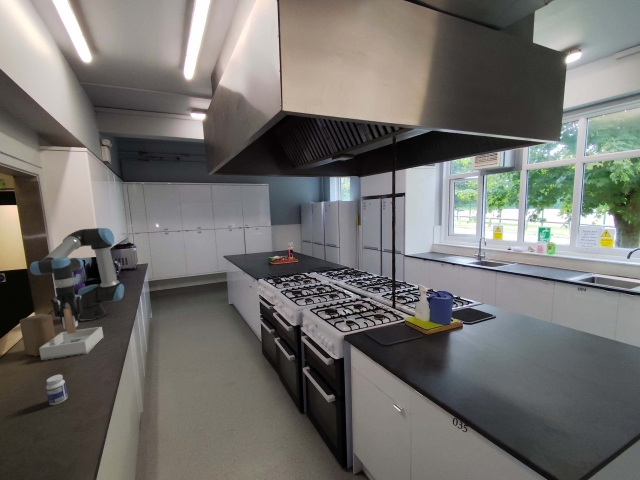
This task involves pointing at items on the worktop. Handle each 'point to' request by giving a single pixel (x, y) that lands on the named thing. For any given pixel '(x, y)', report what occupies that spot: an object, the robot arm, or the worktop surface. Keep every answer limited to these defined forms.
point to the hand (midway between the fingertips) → (71, 327)
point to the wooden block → (36, 332)
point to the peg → (69, 320)
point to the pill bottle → (56, 390)
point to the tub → (71, 343)
